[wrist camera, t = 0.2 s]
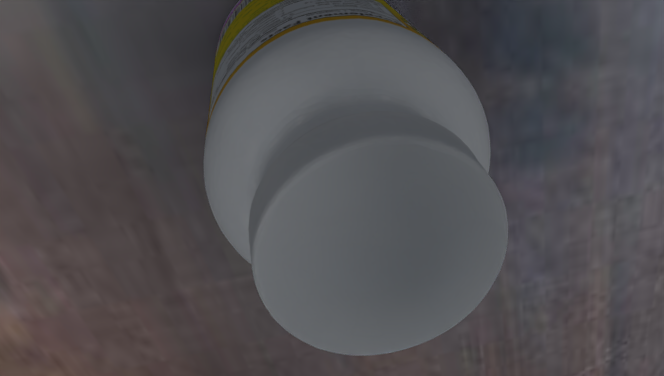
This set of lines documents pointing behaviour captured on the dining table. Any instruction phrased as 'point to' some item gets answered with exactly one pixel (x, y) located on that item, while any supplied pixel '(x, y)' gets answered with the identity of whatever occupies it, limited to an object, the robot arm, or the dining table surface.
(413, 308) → the supplement bottle
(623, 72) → the dining table surface
